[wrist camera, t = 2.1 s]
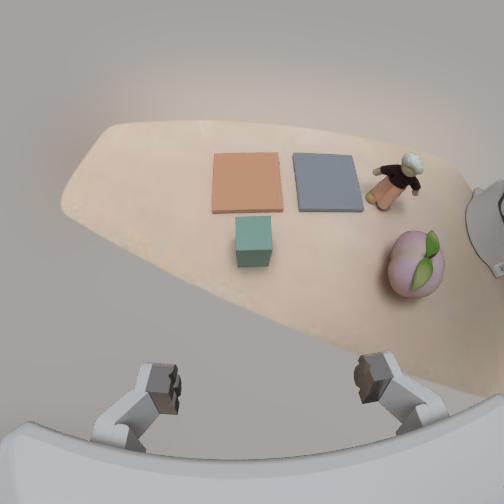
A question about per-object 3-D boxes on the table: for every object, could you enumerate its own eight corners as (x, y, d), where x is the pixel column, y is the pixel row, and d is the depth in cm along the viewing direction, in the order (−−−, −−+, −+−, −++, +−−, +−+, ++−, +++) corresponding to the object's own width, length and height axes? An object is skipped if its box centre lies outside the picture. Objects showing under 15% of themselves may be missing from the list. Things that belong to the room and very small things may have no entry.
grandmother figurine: (359, 205, 41) (393, 159, 29) (360, 185, 42) (392, 137, 30) (401, 218, 41) (443, 179, 29) (401, 198, 42) (439, 156, 30)
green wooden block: (266, 238, 39) (270, 216, 32) (267, 266, 38) (272, 249, 31) (237, 238, 39) (235, 216, 32) (238, 267, 38) (235, 250, 31)
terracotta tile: (277, 156, 44) (277, 152, 43) (282, 211, 41) (283, 208, 40) (214, 157, 43) (214, 153, 42) (212, 213, 40) (212, 210, 39)
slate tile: (350, 159, 44) (351, 155, 43) (361, 212, 41) (364, 209, 40) (292, 156, 44) (293, 152, 43) (299, 211, 41) (300, 208, 40)
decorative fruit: (413, 312, 36) (454, 302, 27) (369, 293, 37) (404, 279, 28) (425, 256, 39) (462, 235, 29) (384, 236, 40) (416, 209, 30)
